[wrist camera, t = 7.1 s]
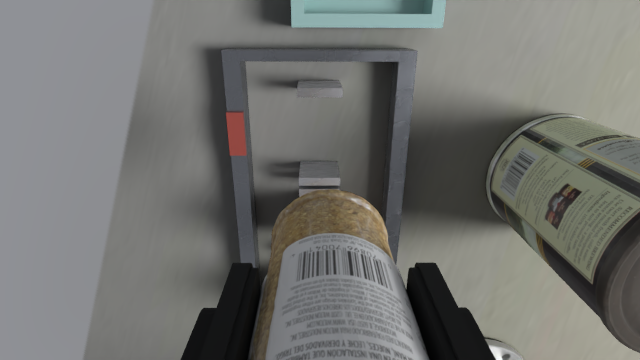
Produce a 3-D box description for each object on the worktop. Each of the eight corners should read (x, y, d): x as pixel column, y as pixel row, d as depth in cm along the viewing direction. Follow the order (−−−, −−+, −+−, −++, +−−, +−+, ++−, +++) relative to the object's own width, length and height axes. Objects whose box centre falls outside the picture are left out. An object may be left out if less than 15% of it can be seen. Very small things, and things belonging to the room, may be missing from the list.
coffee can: (600, 219, 33) (787, 348, 20) (482, 234, 33) (590, 369, 20) (622, 103, 29) (872, 169, 16) (487, 121, 29) (625, 200, 16)
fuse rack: (410, 48, 27) (423, 52, 24) (385, 313, 37) (392, 342, 33) (227, 48, 27) (215, 51, 24) (250, 314, 36) (244, 343, 33)
